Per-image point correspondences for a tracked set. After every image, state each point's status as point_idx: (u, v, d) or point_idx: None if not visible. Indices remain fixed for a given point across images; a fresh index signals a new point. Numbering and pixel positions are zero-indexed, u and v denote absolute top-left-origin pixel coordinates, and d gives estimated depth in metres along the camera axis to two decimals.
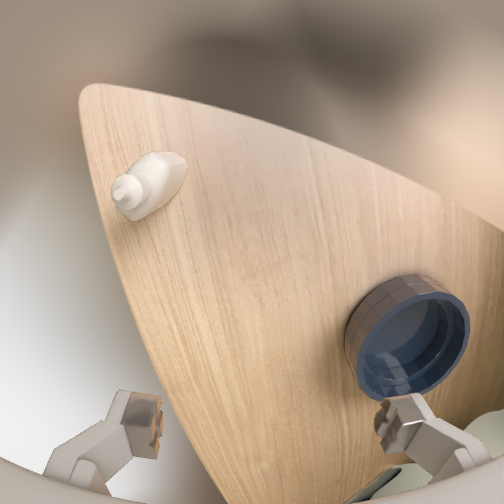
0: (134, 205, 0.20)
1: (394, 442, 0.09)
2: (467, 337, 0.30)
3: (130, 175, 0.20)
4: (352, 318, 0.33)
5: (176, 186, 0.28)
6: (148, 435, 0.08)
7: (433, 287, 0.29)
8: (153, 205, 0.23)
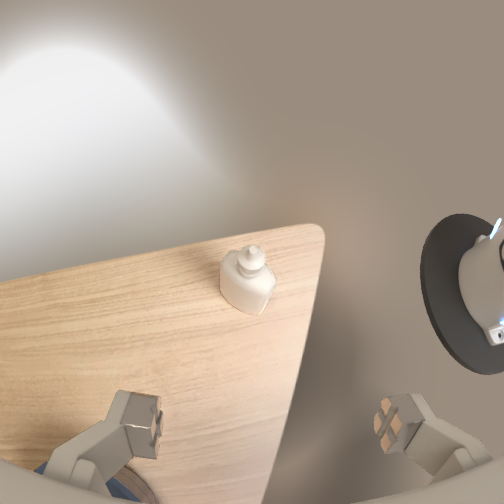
0: (241, 263, 0.27)
1: (394, 442, 0.09)
2: None
3: (264, 261, 0.28)
4: None
5: (241, 303, 0.34)
6: (148, 435, 0.08)
7: None
8: (234, 281, 0.30)
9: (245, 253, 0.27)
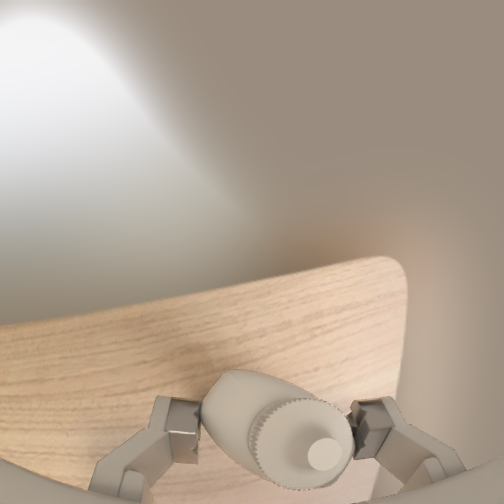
0: (268, 472, 0.06)
1: (362, 447, 0.09)
2: None
3: (349, 450, 0.06)
4: None
5: None
6: (193, 440, 0.08)
7: None
8: (239, 464, 0.09)
9: (285, 444, 0.06)
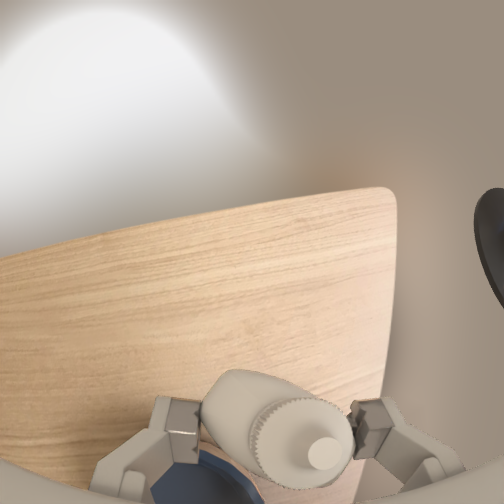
0: (269, 471, 0.06)
1: (362, 447, 0.09)
2: None
3: (349, 449, 0.06)
4: (204, 442, 0.25)
5: None
6: (193, 440, 0.08)
7: None
8: (239, 463, 0.09)
9: (286, 443, 0.06)
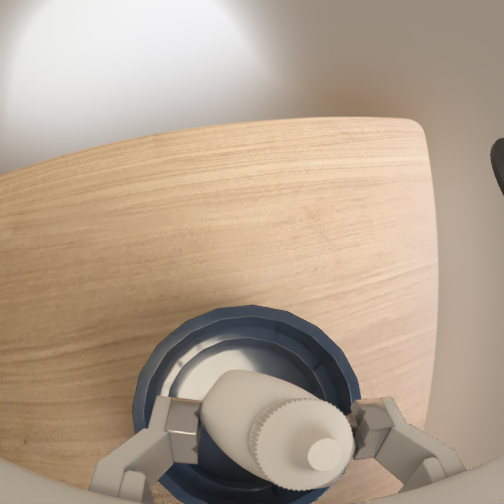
0: (268, 472, 0.06)
1: (362, 447, 0.09)
2: None
3: (349, 450, 0.06)
4: None
5: None
6: (193, 440, 0.08)
7: None
8: (239, 464, 0.08)
9: (285, 444, 0.06)
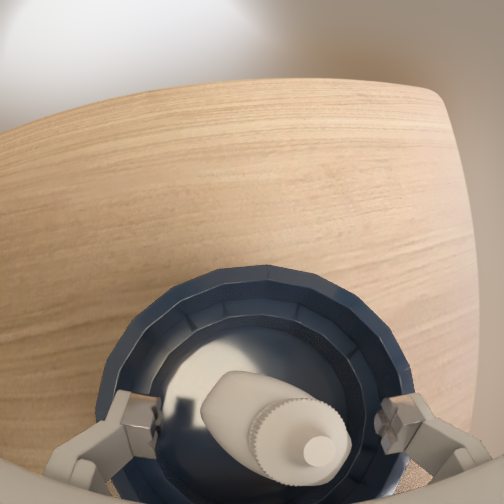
0: (267, 468, 0.06)
1: (394, 442, 0.09)
2: None
3: (344, 448, 0.07)
4: None
5: None
6: (148, 435, 0.08)
7: None
8: (239, 461, 0.09)
9: (283, 441, 0.06)
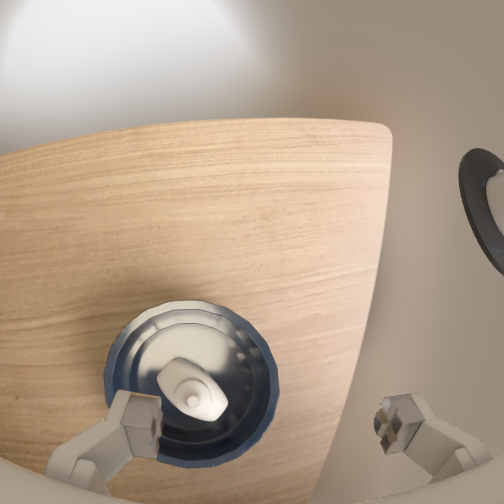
0: (178, 406, 0.18)
1: (394, 442, 0.09)
2: (205, 465, 0.22)
3: (210, 403, 0.19)
4: None
5: None
6: (148, 435, 0.08)
7: None
8: (173, 403, 0.21)
9: (183, 396, 0.18)
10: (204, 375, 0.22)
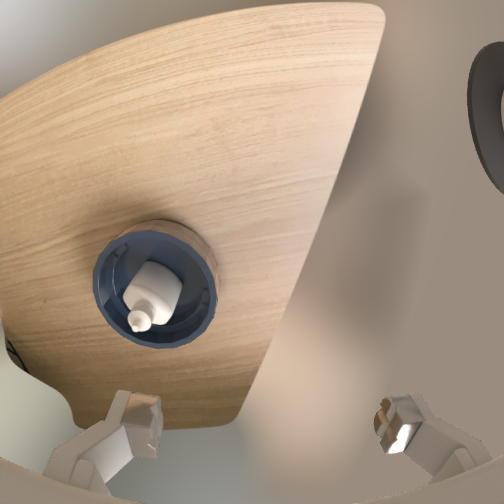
0: (131, 326, 0.29)
1: (394, 442, 0.09)
2: (168, 346, 0.36)
3: (150, 323, 0.29)
4: (176, 223, 0.36)
5: None
6: (148, 435, 0.08)
7: None
8: None
9: (132, 321, 0.28)
10: (152, 295, 0.31)
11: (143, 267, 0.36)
